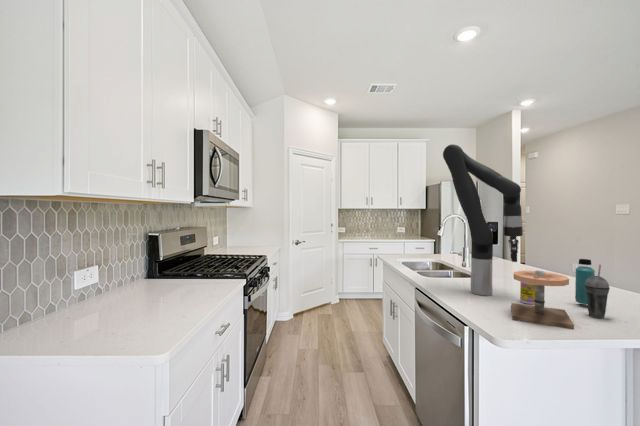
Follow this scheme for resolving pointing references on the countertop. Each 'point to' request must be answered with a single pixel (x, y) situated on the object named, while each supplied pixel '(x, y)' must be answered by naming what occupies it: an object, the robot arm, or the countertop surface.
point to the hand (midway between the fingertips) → (513, 260)
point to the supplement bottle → (527, 293)
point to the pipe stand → (541, 310)
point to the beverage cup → (597, 295)
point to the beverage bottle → (583, 280)
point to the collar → (541, 278)
